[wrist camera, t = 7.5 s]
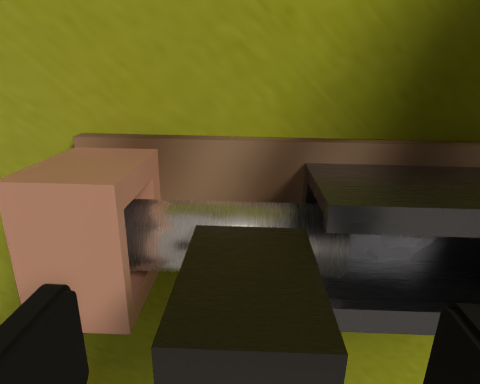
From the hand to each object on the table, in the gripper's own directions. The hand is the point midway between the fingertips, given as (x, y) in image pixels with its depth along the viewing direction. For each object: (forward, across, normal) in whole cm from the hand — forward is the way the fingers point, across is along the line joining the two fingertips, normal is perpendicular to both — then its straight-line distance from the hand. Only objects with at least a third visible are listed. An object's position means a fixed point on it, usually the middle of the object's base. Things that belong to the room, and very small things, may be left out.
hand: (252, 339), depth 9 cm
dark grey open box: (+10, -7, 0) cm, 12 cm away
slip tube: (+7, +2, 0) cm, 8 cm away
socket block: (+10, +7, 0) cm, 12 cm away
